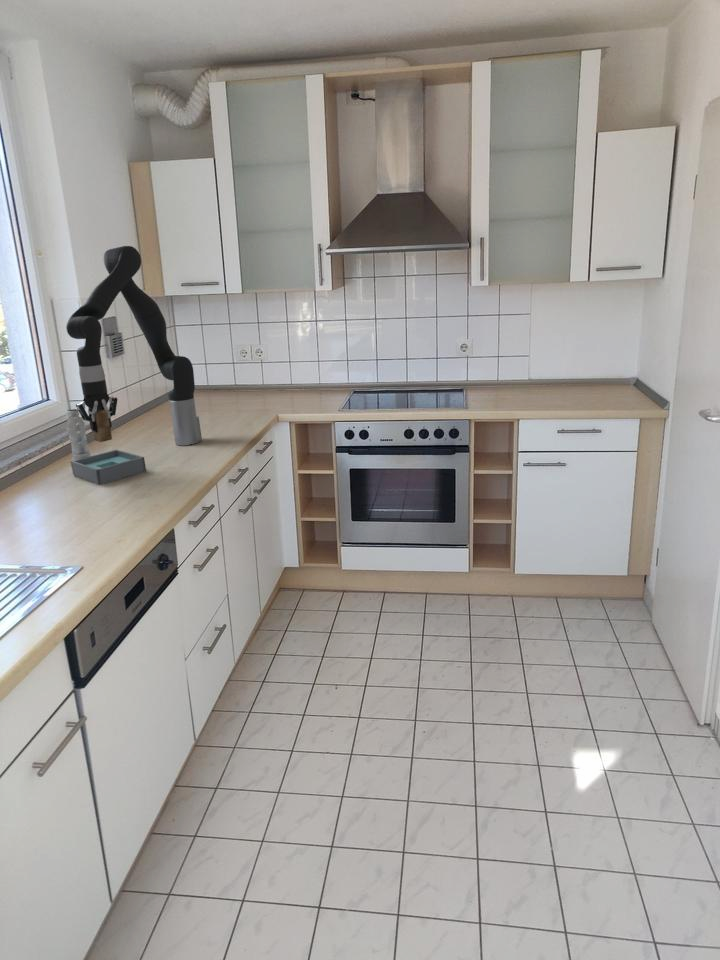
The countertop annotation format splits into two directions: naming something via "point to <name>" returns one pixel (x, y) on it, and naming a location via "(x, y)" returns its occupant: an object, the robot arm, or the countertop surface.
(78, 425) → the plastic bottle
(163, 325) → the robot arm
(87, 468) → the box
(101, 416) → the peg
